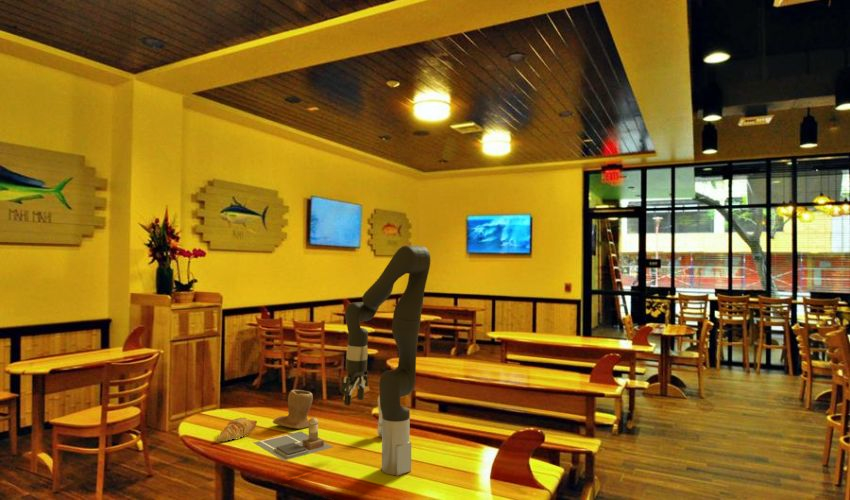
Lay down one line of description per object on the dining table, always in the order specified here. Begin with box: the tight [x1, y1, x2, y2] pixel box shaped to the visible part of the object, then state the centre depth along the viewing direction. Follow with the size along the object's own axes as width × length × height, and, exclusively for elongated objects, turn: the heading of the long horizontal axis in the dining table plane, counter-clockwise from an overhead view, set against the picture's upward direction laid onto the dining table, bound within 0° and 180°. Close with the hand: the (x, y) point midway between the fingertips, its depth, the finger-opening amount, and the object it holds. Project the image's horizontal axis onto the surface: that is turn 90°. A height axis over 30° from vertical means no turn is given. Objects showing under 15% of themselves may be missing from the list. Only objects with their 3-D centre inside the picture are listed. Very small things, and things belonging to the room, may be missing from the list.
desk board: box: [253, 431, 333, 461], centre depth 193 cm, size 24×20×2 cm
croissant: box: [216, 417, 258, 442], centre depth 206 cm, size 21×10×8 cm, turn 160°
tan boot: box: [272, 389, 314, 430], centre depth 218 cm, size 15×12×15 cm
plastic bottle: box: [376, 394, 382, 438], centre depth 205 cm, size 6×7×20 cm
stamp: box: [303, 417, 325, 450], centre depth 192 cm, size 6×6×10 cm
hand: (354, 402), depth 186 cm, fingers open, 8 cm apart
